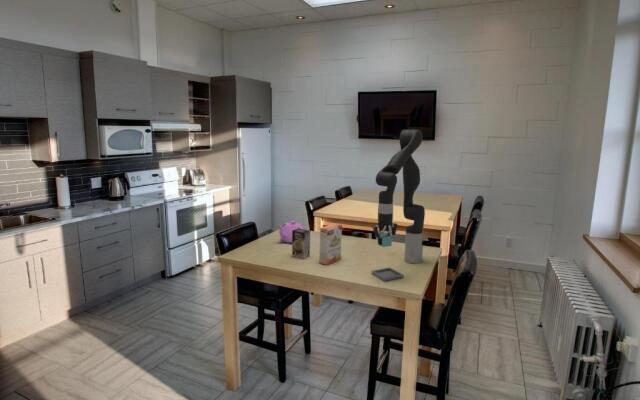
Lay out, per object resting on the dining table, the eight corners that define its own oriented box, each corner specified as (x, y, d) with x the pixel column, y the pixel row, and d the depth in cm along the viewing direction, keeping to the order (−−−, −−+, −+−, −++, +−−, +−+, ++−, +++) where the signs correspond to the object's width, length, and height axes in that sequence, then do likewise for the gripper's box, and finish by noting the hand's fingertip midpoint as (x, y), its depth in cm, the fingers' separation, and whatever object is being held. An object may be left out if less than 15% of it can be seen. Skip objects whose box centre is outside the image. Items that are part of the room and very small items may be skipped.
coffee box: (291, 256, 231) (291, 230, 228) (298, 253, 236) (297, 228, 233) (304, 259, 226) (304, 232, 223) (310, 256, 232) (310, 230, 229)
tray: (389, 270, 209) (389, 267, 208) (403, 278, 198) (403, 274, 198) (371, 274, 204) (371, 270, 203) (384, 281, 193) (384, 278, 193)
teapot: (268, 241, 263) (267, 221, 260) (293, 235, 277) (292, 216, 275) (288, 248, 247) (287, 227, 245) (313, 241, 262) (313, 221, 259)
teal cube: (385, 243, 202) (386, 234, 201) (391, 245, 198) (391, 236, 197) (377, 244, 200) (378, 235, 199) (383, 247, 196) (383, 237, 195)
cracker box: (327, 265, 216) (327, 229, 212) (319, 263, 220) (319, 227, 216) (341, 259, 227) (342, 224, 223) (333, 257, 231) (333, 222, 227)
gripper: (392, 208, 202) (391, 240, 205) (369, 211, 196) (368, 243, 199) (401, 211, 195) (400, 244, 198) (377, 214, 189) (376, 247, 192)
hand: (384, 243), depth 199 cm, fingers closed on teal cube, 5 cm apart
